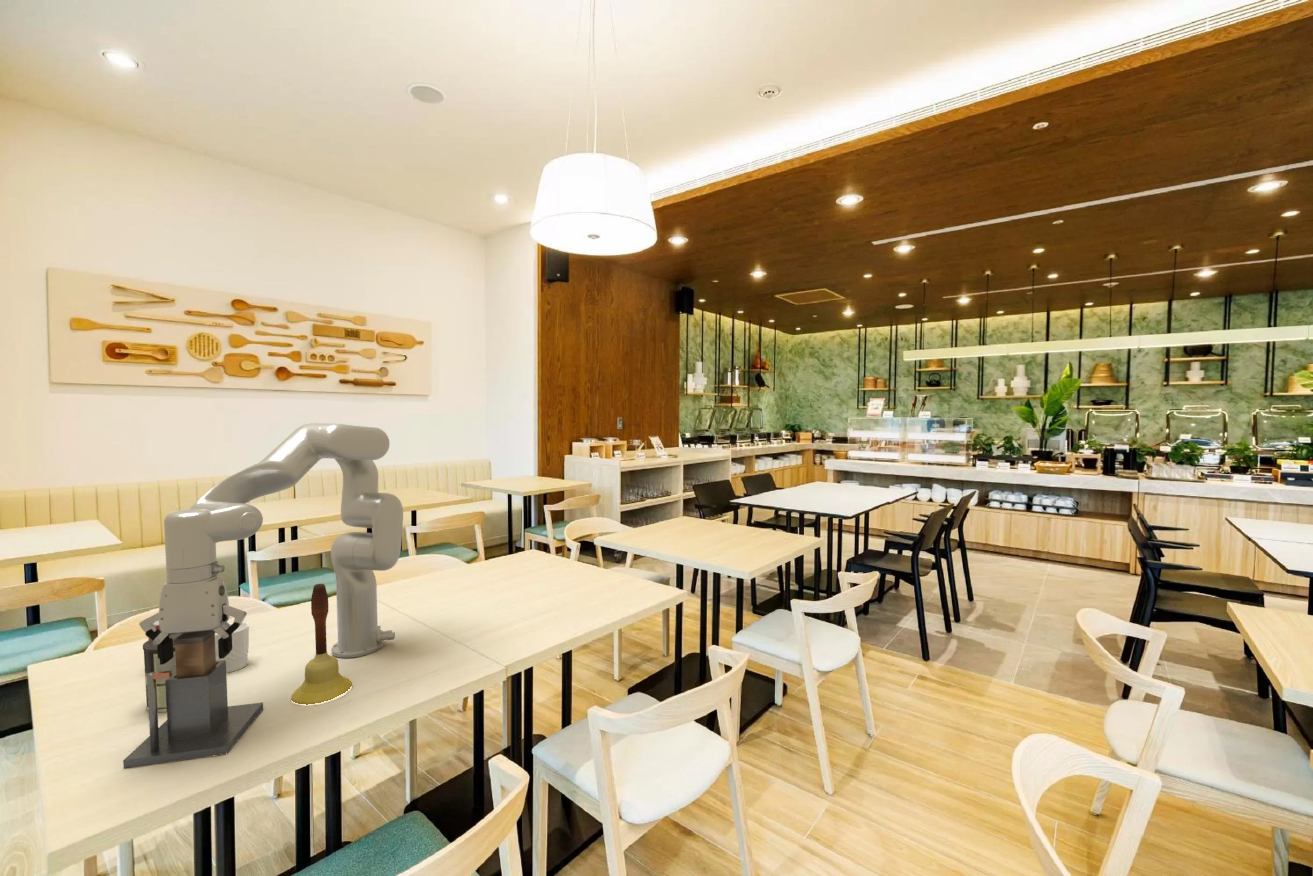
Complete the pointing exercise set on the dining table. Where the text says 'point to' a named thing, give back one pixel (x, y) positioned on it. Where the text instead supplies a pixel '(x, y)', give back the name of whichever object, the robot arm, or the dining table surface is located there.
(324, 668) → the handbell
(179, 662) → the walnut post
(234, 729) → the steel stand
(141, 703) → the dining table surface
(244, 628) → the white cup
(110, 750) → the dining table surface
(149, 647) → the coffee can
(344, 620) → the robot arm
